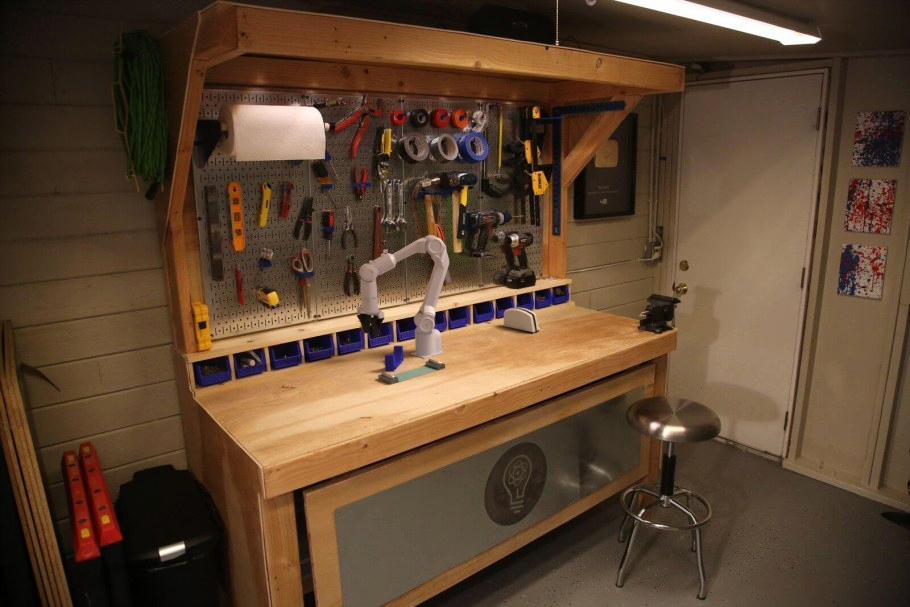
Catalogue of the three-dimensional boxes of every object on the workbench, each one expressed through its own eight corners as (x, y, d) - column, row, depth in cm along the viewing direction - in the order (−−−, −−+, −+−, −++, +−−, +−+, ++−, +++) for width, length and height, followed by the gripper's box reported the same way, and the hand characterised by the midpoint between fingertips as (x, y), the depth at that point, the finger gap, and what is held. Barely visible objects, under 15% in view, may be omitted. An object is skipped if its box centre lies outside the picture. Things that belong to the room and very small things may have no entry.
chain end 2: (432, 363, 216) (431, 357, 215) (445, 368, 211) (444, 361, 210) (425, 365, 214) (425, 359, 213) (438, 370, 209) (438, 363, 208)
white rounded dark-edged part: (541, 332, 254) (539, 309, 251) (533, 335, 251) (532, 312, 248) (510, 325, 266) (508, 303, 263) (503, 329, 263) (501, 306, 260)
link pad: (424, 366, 213) (424, 365, 213) (437, 370, 208) (437, 370, 208) (387, 376, 203) (387, 376, 203) (399, 381, 198) (399, 381, 198)
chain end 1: (385, 377, 203) (385, 370, 202) (398, 382, 198) (398, 375, 197) (378, 379, 201) (378, 372, 200) (390, 384, 196) (390, 377, 195)
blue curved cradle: (391, 361, 221) (390, 345, 219) (403, 361, 220) (402, 345, 218) (381, 371, 209) (380, 355, 208) (393, 372, 208) (393, 355, 207)
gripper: (348, 296, 221) (351, 333, 224) (371, 302, 210) (373, 340, 213) (365, 293, 225) (367, 329, 228) (388, 299, 215) (390, 336, 218)
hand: (371, 334), depth 221 cm, fingers open, 5 cm apart
